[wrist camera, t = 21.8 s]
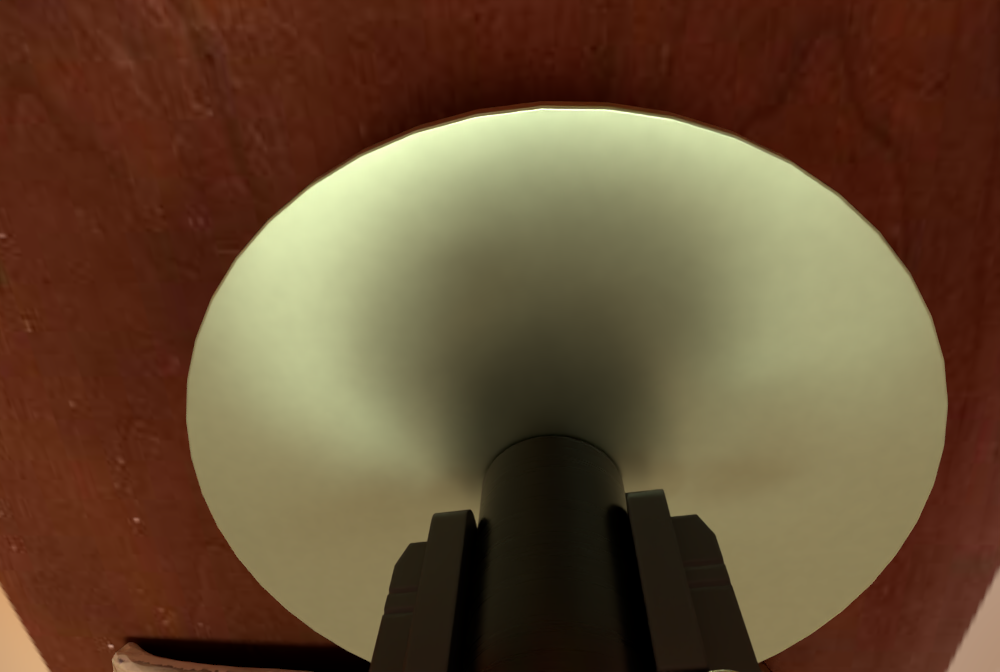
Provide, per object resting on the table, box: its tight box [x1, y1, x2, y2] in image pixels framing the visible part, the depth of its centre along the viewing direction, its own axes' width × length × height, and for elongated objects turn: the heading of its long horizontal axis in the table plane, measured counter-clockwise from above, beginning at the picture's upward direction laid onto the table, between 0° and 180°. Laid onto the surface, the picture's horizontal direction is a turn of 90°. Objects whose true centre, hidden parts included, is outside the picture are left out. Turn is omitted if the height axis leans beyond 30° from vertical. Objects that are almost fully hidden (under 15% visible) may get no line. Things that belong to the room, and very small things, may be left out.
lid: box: [186, 101, 948, 672], centre depth 11 cm, size 16×16×7 cm
